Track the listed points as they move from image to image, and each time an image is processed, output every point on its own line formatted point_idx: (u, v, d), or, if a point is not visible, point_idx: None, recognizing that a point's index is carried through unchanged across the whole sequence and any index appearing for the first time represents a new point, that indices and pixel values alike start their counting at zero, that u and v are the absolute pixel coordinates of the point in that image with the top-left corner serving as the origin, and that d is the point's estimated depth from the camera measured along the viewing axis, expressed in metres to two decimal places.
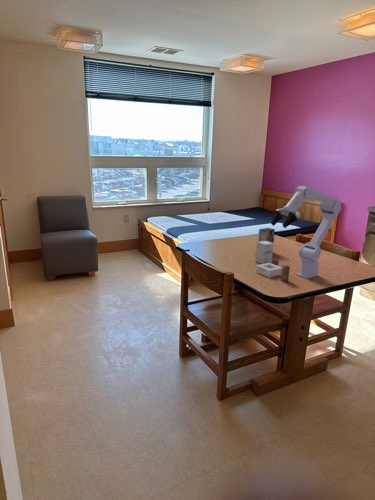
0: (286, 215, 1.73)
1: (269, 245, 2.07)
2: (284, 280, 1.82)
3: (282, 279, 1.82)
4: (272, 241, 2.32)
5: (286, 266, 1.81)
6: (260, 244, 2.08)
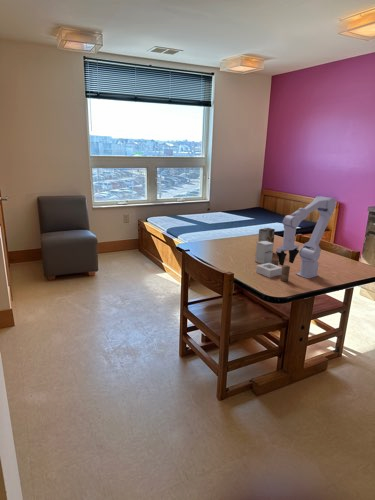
0: (293, 248, 1.78)
1: (269, 245, 2.07)
2: (284, 280, 1.82)
3: (282, 279, 1.82)
4: (272, 241, 2.32)
5: (286, 266, 1.81)
6: (260, 244, 2.08)
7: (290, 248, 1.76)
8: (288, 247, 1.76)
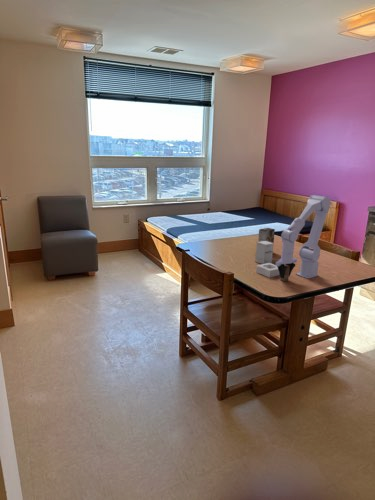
0: None
1: (269, 245, 2.07)
2: (284, 280, 1.82)
3: (282, 279, 1.82)
4: (272, 241, 2.32)
5: (286, 266, 1.81)
6: (260, 244, 2.08)
7: (288, 262, 1.78)
8: (286, 261, 1.78)
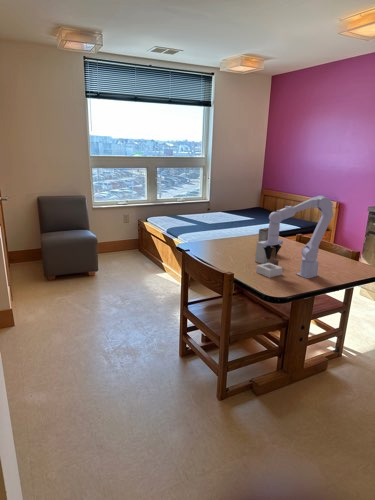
0: (278, 244, 1.88)
1: None
2: (270, 261, 1.89)
3: (268, 260, 1.90)
4: None
5: None
6: (260, 244, 2.08)
7: (274, 243, 1.86)
8: (272, 242, 1.85)
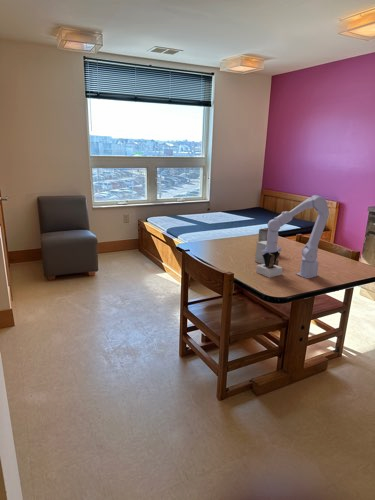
0: (276, 251, 1.90)
1: None
2: (269, 268, 1.91)
3: (267, 267, 1.92)
4: None
5: None
6: (260, 244, 2.08)
7: (273, 250, 1.87)
8: (271, 249, 1.87)
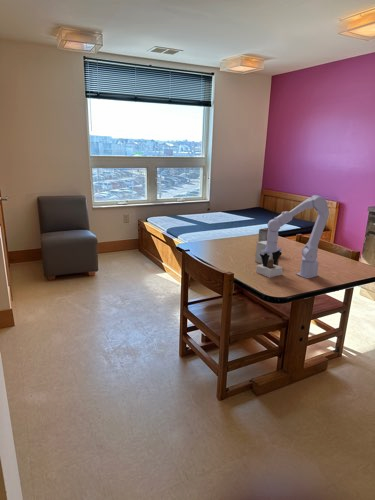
0: (276, 251, 1.90)
1: None
2: None
3: None
4: None
5: (270, 259, 1.91)
6: (260, 244, 2.08)
7: (273, 250, 1.87)
8: (271, 249, 1.87)
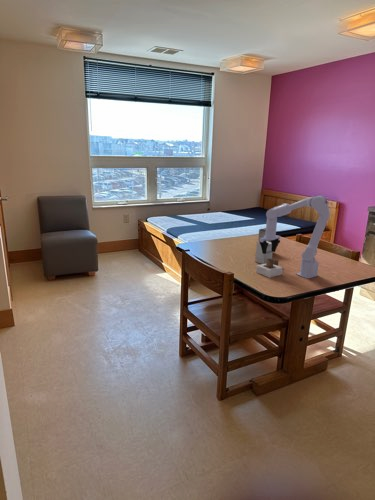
0: (275, 238, 1.97)
1: (269, 245, 2.07)
2: None
3: None
4: None
5: (270, 260, 1.91)
6: None
7: (272, 238, 1.95)
8: (270, 237, 1.95)
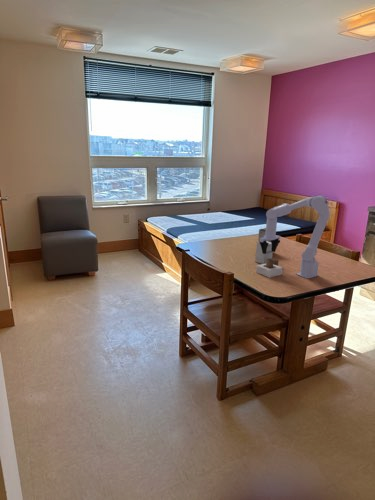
0: (275, 238, 1.97)
1: (269, 245, 2.07)
2: None
3: None
4: None
5: (270, 260, 1.91)
6: None
7: (272, 238, 1.95)
8: (270, 237, 1.95)
